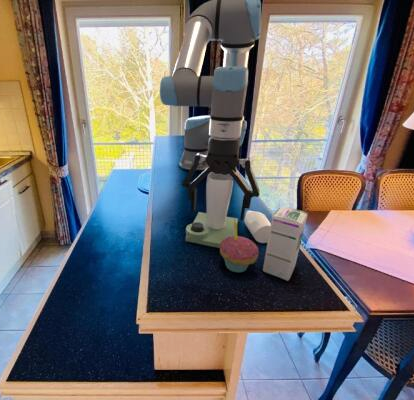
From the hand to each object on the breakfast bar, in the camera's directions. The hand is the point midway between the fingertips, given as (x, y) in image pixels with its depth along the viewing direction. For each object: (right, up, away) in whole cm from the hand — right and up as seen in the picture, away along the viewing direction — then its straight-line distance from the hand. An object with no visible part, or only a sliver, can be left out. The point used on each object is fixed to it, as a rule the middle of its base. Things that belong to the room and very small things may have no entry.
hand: (216, 213), depth 74 cm
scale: (-1, -5, +1) cm, 5 cm away
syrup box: (+11, -12, -13) cm, 21 cm away
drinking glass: (0, -4, +2) cm, 4 cm away
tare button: (-6, -4, -3) cm, 8 cm away
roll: (+11, -5, +2) cm, 12 cm away
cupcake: (+2, -12, -12) cm, 17 cm away
